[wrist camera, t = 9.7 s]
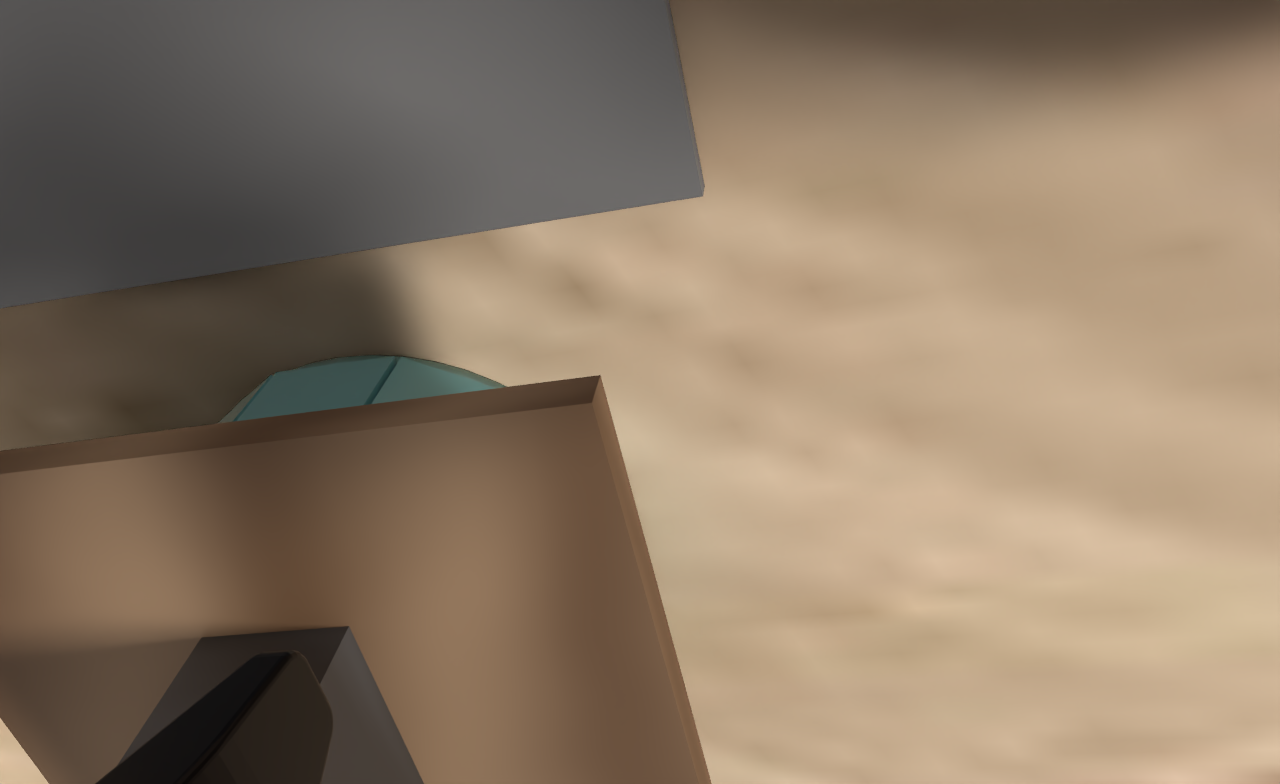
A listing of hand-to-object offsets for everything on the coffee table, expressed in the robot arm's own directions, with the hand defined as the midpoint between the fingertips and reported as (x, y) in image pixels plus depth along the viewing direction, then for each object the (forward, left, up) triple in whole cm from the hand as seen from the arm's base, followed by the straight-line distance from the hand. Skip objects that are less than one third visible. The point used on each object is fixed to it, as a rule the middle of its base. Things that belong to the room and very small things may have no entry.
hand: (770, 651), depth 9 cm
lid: (+10, +8, -7) cm, 14 cm away
